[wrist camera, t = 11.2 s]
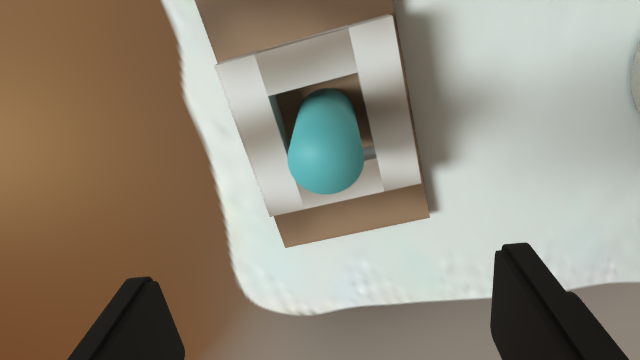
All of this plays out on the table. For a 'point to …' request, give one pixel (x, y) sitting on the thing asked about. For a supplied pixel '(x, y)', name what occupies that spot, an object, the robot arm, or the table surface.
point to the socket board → (299, 81)
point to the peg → (326, 143)
